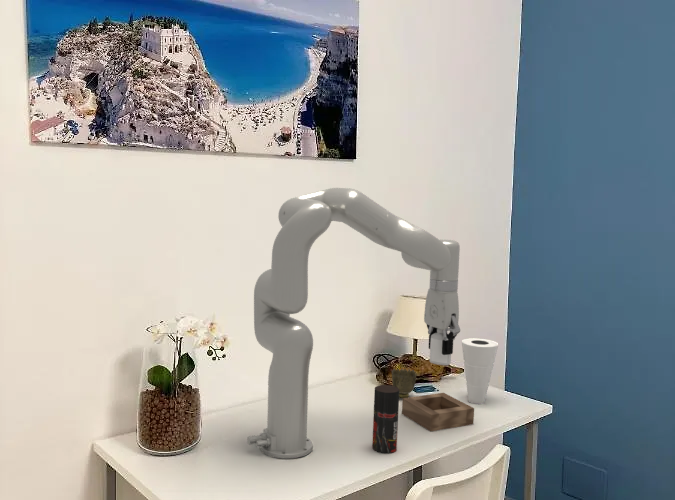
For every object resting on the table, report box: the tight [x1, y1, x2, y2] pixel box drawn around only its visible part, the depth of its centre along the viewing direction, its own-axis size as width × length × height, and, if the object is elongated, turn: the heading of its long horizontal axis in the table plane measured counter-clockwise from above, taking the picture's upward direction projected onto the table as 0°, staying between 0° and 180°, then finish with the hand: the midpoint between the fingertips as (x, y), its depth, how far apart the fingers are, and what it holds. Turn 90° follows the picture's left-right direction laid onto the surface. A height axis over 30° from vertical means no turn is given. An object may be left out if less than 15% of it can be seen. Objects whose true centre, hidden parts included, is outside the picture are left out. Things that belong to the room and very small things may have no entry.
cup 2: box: [461, 337, 499, 405], centre depth 199 cm, size 11×11×18 cm
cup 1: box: [391, 368, 417, 400], centre depth 201 cm, size 8×7×8 cm
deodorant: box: [371, 384, 400, 455], centre depth 162 cm, size 6×6×15 cm
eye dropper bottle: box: [429, 328, 452, 366], centre depth 182 cm, size 4×6×12 cm
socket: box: [401, 392, 475, 432], centre depth 184 cm, size 14×14×4 cm
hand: (440, 350), depth 182 cm, fingers closed on eye dropper bottle, 5 cm apart
